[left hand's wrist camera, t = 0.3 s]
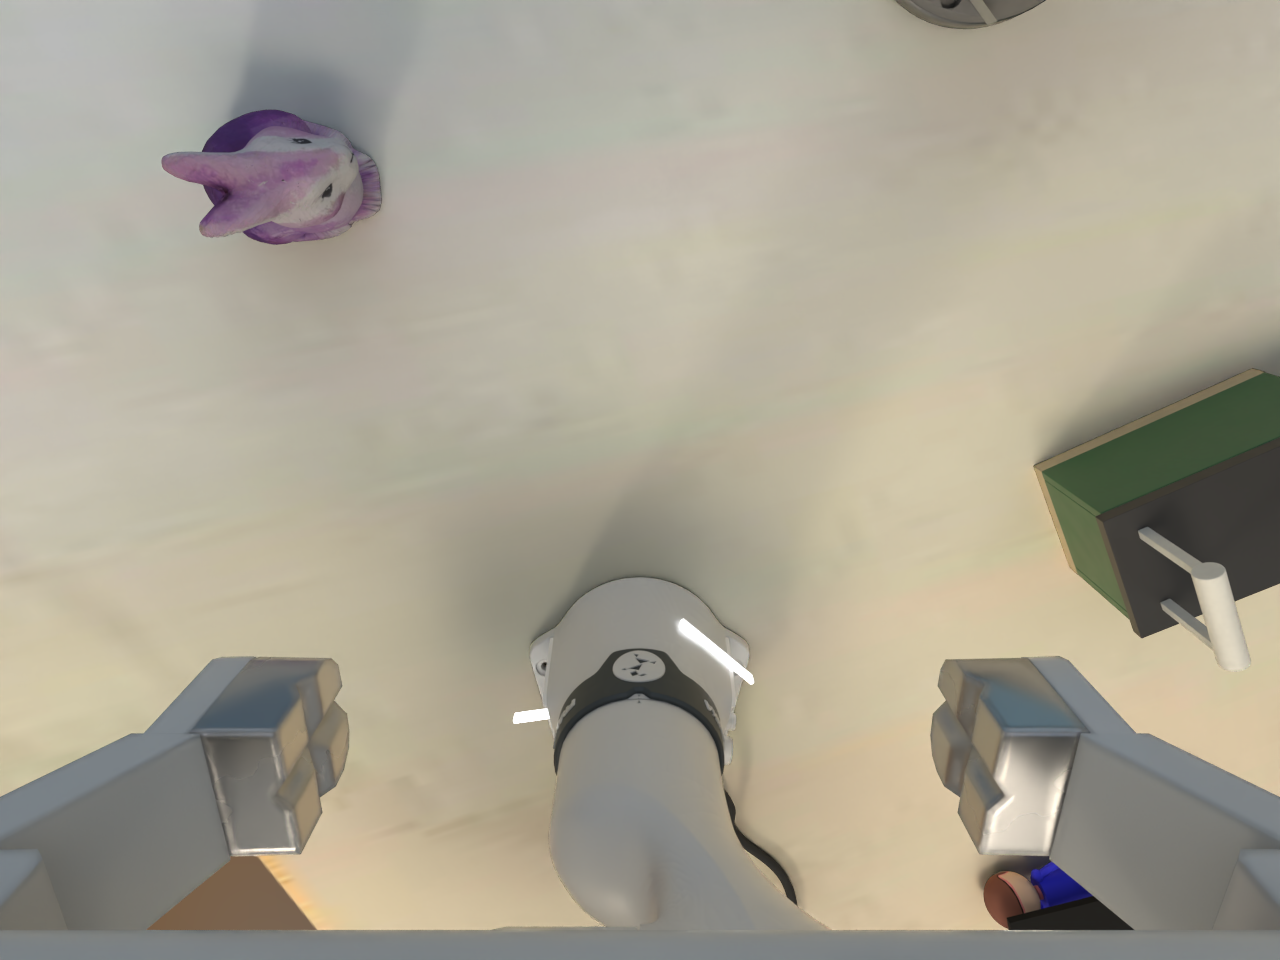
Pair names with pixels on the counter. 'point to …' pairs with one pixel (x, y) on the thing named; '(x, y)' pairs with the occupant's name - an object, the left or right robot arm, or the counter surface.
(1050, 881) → the black toy car
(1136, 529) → the lid
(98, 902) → the left robot arm
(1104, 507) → the chest
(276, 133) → the figurine
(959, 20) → the right robot arm
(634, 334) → the counter surface
